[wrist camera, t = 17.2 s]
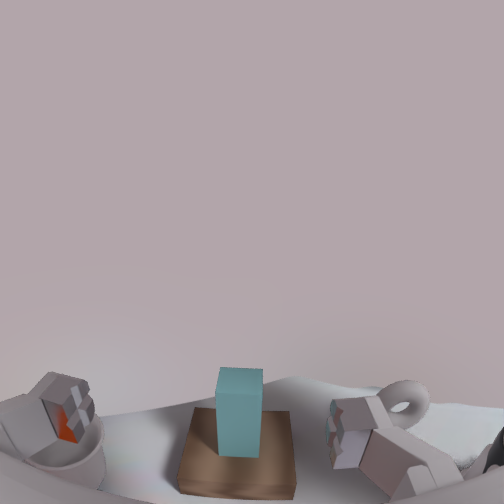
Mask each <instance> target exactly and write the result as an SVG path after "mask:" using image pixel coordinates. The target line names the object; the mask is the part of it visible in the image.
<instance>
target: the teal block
mask: <svg viewBox="0 0 504 504" xmlns="http://www.w3.org/2000/svg"><path fill="white" fill-rule="evenodd" d="M215 394H216V395H215V396H216V417H217V435H218V451H219V456H231V457H252V458H259V446H260V430H261V414H262V397H263V369H248V368H227V367H221V368H220V372H219V377H218V382H217V387H216V391H215Z"/></svg>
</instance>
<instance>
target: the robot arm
mask: <svg viewBox="0 0 504 504" xmlns="http://www.w3.org/2000/svg"><path fill="white" fill-rule="evenodd" d="M89 390H90V389H89V386H88V382H87V381H85V380H83V379H79V378H75V377H70V376H67V375H63V374H58V373H55V372H48V373H47V374H46V375H45V376H44V377H43V378H42V379H41V380H40V381H39V382H38V384H37V385H36V386H35V387H34V388H33V389H32V390H31V391H30V392H29V393H28V394H27V395H26V394H22V395H19V396H16V397H14V398H11V399H8V400H5V401H2V402H0V504H154V503H149V502H144V501H139V500H135V499H130V498H126V497H122V496H118V495H114V494H111V493H107V492H104V491H100V490H97V489H93V488H90V487H87V486H84V485H81V484H78V483H75V482H72V481H69V480H66V479H63V478H61V477H58V476H55V475H53V474H50V473H48V472H45V471H43V470H40V469H38V468H36V467H33V466H31V465H29V464H27V463H24V462H22V461H23V460H25V459H27V458H28V457H30V456H32V455H33V454H35V453H37V452H38V451H40V450H42V449H43V448H45V447H47V446H48V445H50V444H52V443H53V442H55V441H56V440H58V438H59V439H62V440H65V441H69V442H72V443H76V444H78V443H79V441H80V440H81V438H82V437H83V435H84V433H85V429H84V427H85V426H87V425H89V424H90V423H91V422H92V420H93V417H94V412H95V407H94V403H93V399H92V398H91V397H90V396H89V395H88V392H89ZM330 411H331V416H330V417H329V418H328V419H327V424H326V440H327V445H328V446H330V447H331V451H330V459H331V463H332V467H333V469H345V468H356V467H359V469H360V470H361V471H362V472H363V473H364V474H365V475H366V476H367V477H368V478H369V479H371V480H372V481H373V482H374V483H375V484H376V485H377V486H378V487H379V488H381V489H382V490H383V491H384V492H385V493H386V494H387V495H388V496H390V497H391V499H390V500H389V502H387V503H382V504H504V427H503V429H502V430H501V431H500V432H499V434H498V435H497V437H496V438H495V440H494V442H493V444H489V445H487V446H486V447H485V449H484V450H483V451H482V453H481V454H480V455H479V457H478V458H477V459H476V460H475V462H474V463H473V464H472V465H471V467H470V468H465V469H463V470H462V471H461V472H460V471H459V470H458V468H457V466H456V464H455V462H454V461H453V459H452V457H451V456H450V455H448V454H446V453H444V452H442V451H440V450H439V449H437V448H435V447H433V446H431V445H430V444H428V443H426V442H424V441H423V440H421V439H419V438H417V437H416V436H414V435H412V434H410V433H409V432H407V431H405V430H404V429H402V428H400V427H398V426H393V424H392V422H391V420H390V418H389V416H388V414H387V412H386V410H385V408H384V406H383V404H382V402H381V400H380V398H379V396H377V395H376V396H367V397H360V398H347V399H333V400H332V402H331V406H330Z"/></svg>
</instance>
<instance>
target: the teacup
mask: <svg viewBox="0 0 504 504" xmlns="http://www.w3.org/2000/svg"><path fill="white" fill-rule="evenodd" d="M84 429H85V433H84V435H83V437H82V438H81V440H80V441H79V443H78V444H76V443H72V442H69V441H65V440H62V439H59V438H58V440H56V441H55V442H53V443H52V444H50V445H48V446H47V447H45V448H43V449H42V450H40V451H38V452H37V453H35V454H33V455H32V456H30V457H28V458H27V459H25V461H27V462H28V463H30V464H31V465H33V466H35V467H36V468H38V469H40V470H43V471H45V472H48V473H50V474H53V475H55V476H58V477H61V478H63V479H66V480H69V481H72V482H75V483H78V484H81V485H84V486H87V487H90V488H93V489H98V487H99V485H100V484H101V482H102V481H103V479H104V477H105V473H106V462H105V457H104V452H103V448H102V442H103V439H104V427H103V424H102V422H101V420H100V418H99V417H98V416H97V415H96V414H95V413H94V417H93V420H92V422H91V423H90V424H89V425H87V426H85V427H84Z"/></svg>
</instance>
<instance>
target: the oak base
mask: <svg viewBox="0 0 504 504" xmlns="http://www.w3.org/2000/svg"><path fill="white" fill-rule="evenodd" d="M177 480H178V484H179V488H180V492H181V494H186V495H194V496H203V497H213V498H225V499H243V500H293V497H294V493H295V489H296V484H297V483H296V472H295V462H294V452H293V443H292V433H291V424H290V414H289V411H262V414H261V430H260V446H259V458H252V457H231V456H219V451H218V435H217V417H216V409H209V408H198V407H195V409H194V413H193V417H192V420H191V424H190V428H189V432H188V436H187V440H186V444H185V447H184V451H183V455H182V459H181V463H180V467H179V471H178V475H177Z"/></svg>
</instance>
